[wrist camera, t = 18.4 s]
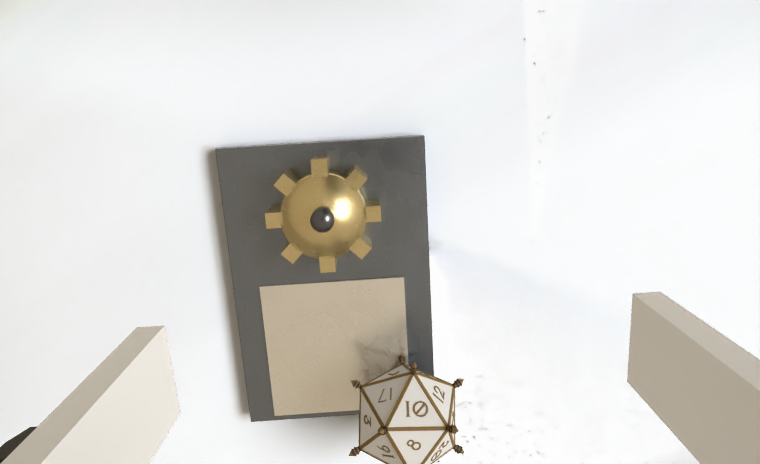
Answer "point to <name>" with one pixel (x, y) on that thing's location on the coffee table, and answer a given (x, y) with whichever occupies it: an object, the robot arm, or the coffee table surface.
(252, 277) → the carrier plate
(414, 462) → the game die
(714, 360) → the robot arm
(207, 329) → the coffee table surface
